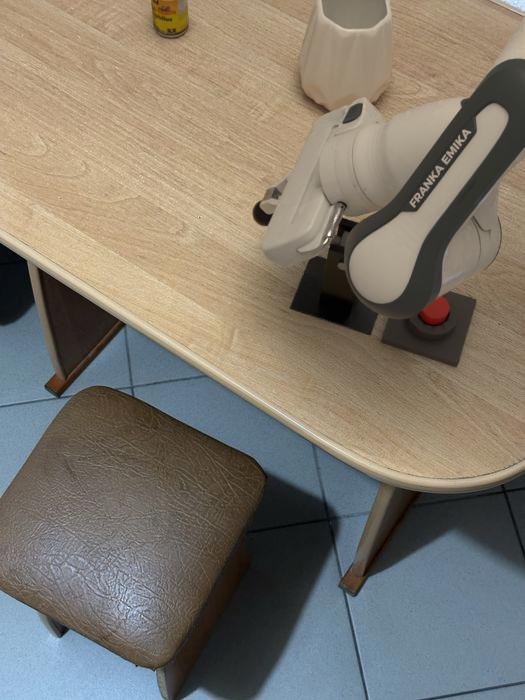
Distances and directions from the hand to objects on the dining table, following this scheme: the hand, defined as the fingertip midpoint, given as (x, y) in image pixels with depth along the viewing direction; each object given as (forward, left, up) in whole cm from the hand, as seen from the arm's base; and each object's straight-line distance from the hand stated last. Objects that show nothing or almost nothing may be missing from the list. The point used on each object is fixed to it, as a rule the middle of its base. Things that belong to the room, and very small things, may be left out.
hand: (266, 200), depth 99 cm
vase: (0, -36, -16) cm, 39 cm away
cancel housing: (-23, 0, -16) cm, 28 cm away
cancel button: (-23, 0, -12) cm, 26 cm away
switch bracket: (-11, 0, -16) cm, 19 cm away
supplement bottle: (+29, -38, -16) cm, 50 cm away
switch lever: (-5, 0, -4) cm, 7 cm away
